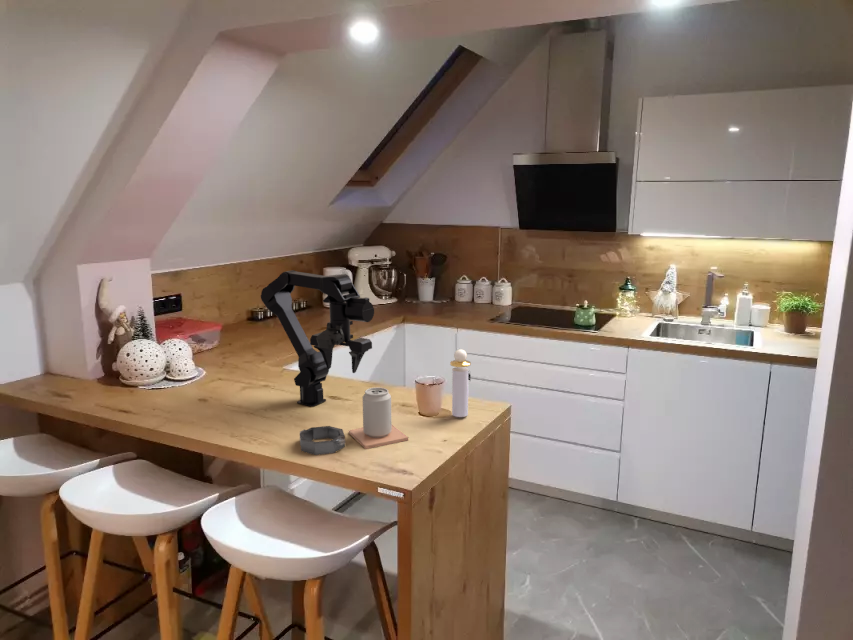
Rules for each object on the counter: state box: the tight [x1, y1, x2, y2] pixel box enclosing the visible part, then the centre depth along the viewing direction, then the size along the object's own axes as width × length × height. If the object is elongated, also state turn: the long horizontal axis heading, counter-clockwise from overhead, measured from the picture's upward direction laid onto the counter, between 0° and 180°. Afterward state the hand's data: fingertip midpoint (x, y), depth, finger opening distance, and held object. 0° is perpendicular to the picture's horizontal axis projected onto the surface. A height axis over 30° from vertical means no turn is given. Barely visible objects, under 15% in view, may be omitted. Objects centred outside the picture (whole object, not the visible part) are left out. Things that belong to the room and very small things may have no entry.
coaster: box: [348, 424, 409, 450], centre depth 171 cm, size 12×12×1 cm
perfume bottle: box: [449, 348, 472, 418], centre depth 183 cm, size 6×6×20 cm
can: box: [362, 386, 393, 438], centre depth 170 cm, size 8×8×12 cm
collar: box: [299, 425, 346, 456], centre depth 165 cm, size 13×11×3 cm
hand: (341, 370), depth 189 cm, fingers open, 9 cm apart
